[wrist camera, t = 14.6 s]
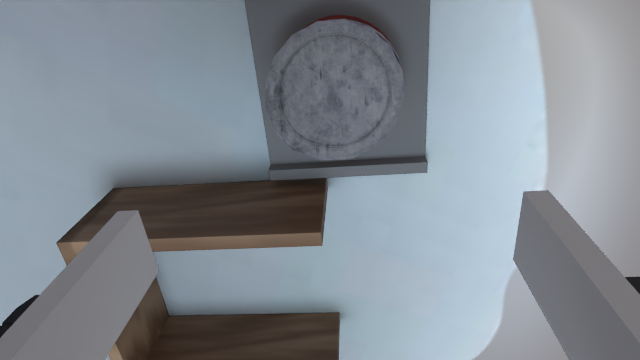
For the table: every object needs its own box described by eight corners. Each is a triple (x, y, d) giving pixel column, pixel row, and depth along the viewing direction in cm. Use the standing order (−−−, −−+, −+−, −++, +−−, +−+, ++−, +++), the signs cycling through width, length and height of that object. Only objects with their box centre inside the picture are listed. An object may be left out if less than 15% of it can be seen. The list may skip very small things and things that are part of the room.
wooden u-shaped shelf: (113, 188, 41) (56, 242, 33) (326, 177, 39) (320, 232, 31) (162, 323, 49) (126, 392, 41) (339, 320, 47) (337, 392, 39)
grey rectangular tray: (241, -29, 31) (236, -28, 30) (430, -48, 30) (434, -49, 28) (273, 172, 39) (270, 180, 38) (424, 164, 38) (427, 172, 36)
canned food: (285, 59, 38) (223, 29, 29) (387, 10, 35) (355, -43, 25) (323, 175, 38) (273, 183, 28) (431, 137, 34) (415, 131, 25)
